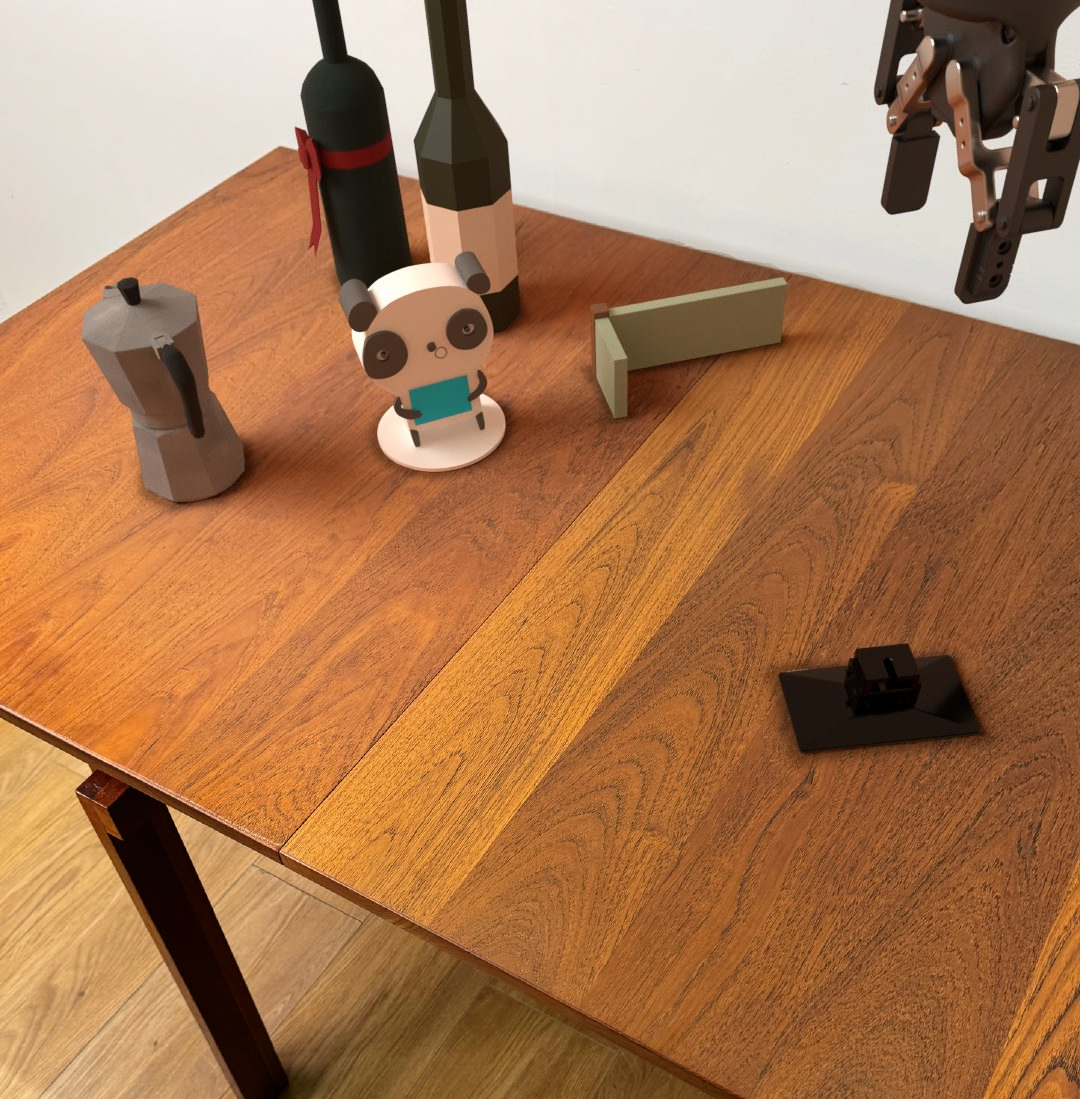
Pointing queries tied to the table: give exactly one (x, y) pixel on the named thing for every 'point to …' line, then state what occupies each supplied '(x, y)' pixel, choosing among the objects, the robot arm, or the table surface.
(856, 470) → the table surface
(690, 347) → the corner rails
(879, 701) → the build plate
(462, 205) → the wine bottle
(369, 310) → the panda figurine
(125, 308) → the coffeepot
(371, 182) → the wine bottle
